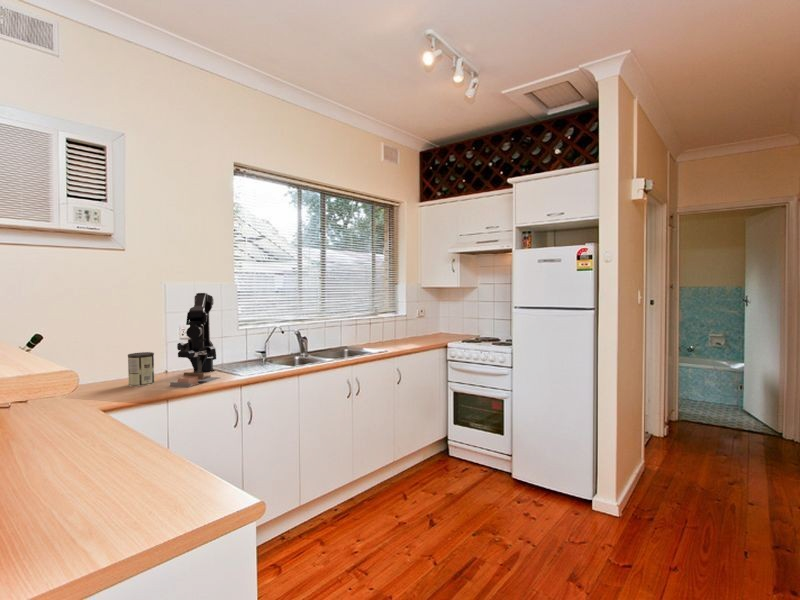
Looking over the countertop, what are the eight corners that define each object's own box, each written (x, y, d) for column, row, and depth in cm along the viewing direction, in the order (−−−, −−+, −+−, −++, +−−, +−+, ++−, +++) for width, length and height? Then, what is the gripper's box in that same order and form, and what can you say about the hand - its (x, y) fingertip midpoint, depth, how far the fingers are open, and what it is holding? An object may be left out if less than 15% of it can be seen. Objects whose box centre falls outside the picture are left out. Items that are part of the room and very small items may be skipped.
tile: (187, 382, 206) (187, 375, 205) (198, 383, 204) (198, 376, 204) (177, 385, 200) (177, 378, 200) (188, 385, 198) (188, 378, 198)
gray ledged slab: (204, 377, 219) (203, 373, 219) (221, 378, 217) (221, 374, 217) (170, 386, 198) (170, 382, 198) (189, 387, 196) (189, 383, 195)
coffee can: (138, 382, 208) (138, 352, 208) (159, 382, 207) (159, 352, 207) (122, 387, 198) (122, 355, 198) (144, 387, 197) (143, 355, 197)
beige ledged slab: (192, 376, 212) (192, 359, 211) (210, 377, 209) (210, 360, 209) (183, 378, 206) (183, 361, 206) (202, 379, 203) (202, 362, 203)
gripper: (196, 334, 218) (196, 366, 219) (167, 338, 200) (167, 373, 201) (216, 334, 216) (216, 367, 216) (188, 339, 198) (188, 374, 198)
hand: (197, 370), depth 208 cm, fingers closed on beige ledged slab, 2 cm apart
